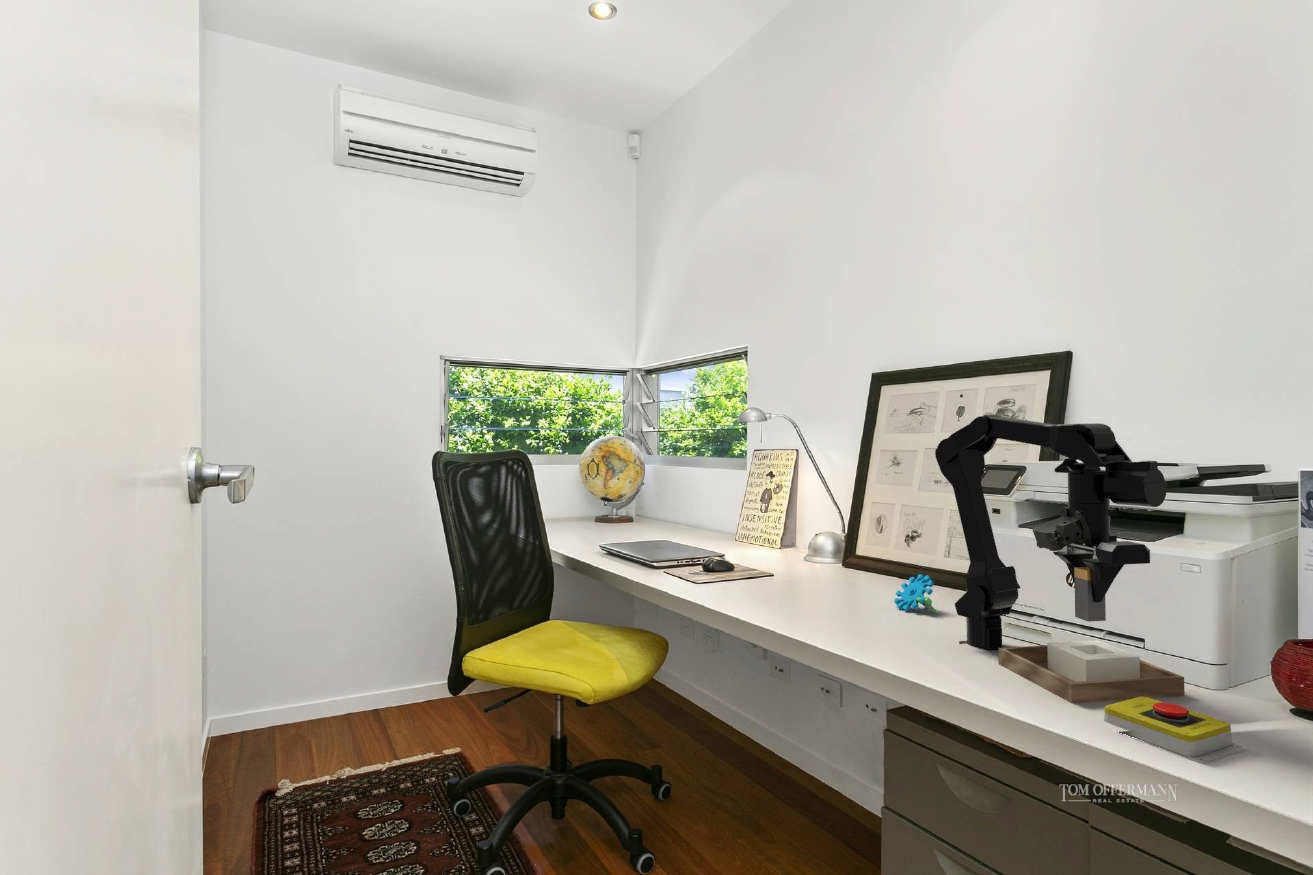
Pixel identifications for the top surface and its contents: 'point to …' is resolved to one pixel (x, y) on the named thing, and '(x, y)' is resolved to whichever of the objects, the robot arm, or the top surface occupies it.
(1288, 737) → the top surface
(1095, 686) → the walled box
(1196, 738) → the emergency button
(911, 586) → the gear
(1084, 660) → the block
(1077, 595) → the plug
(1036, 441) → the robot arm
